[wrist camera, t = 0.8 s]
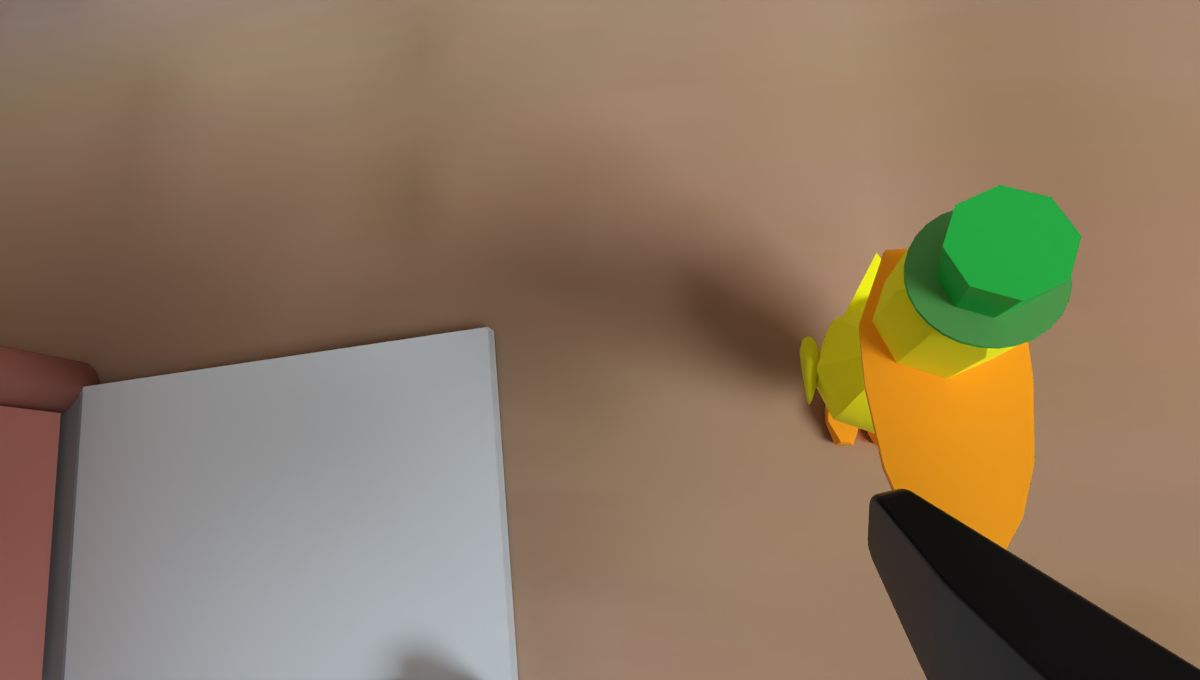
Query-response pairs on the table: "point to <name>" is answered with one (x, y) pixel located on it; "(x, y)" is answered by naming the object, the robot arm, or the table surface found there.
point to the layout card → (287, 521)
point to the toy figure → (952, 354)
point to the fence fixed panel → (29, 496)
